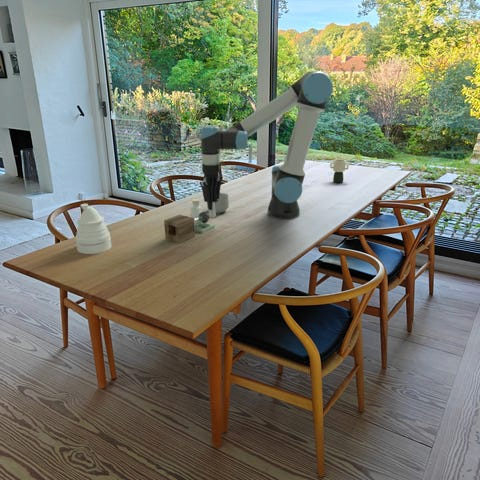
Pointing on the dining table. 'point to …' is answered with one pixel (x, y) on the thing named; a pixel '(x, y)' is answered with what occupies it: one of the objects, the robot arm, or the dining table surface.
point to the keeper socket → (204, 228)
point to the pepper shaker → (195, 208)
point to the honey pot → (92, 232)
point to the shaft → (201, 218)
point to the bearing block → (179, 228)
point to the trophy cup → (338, 169)
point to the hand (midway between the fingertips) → (212, 216)
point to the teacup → (222, 203)
